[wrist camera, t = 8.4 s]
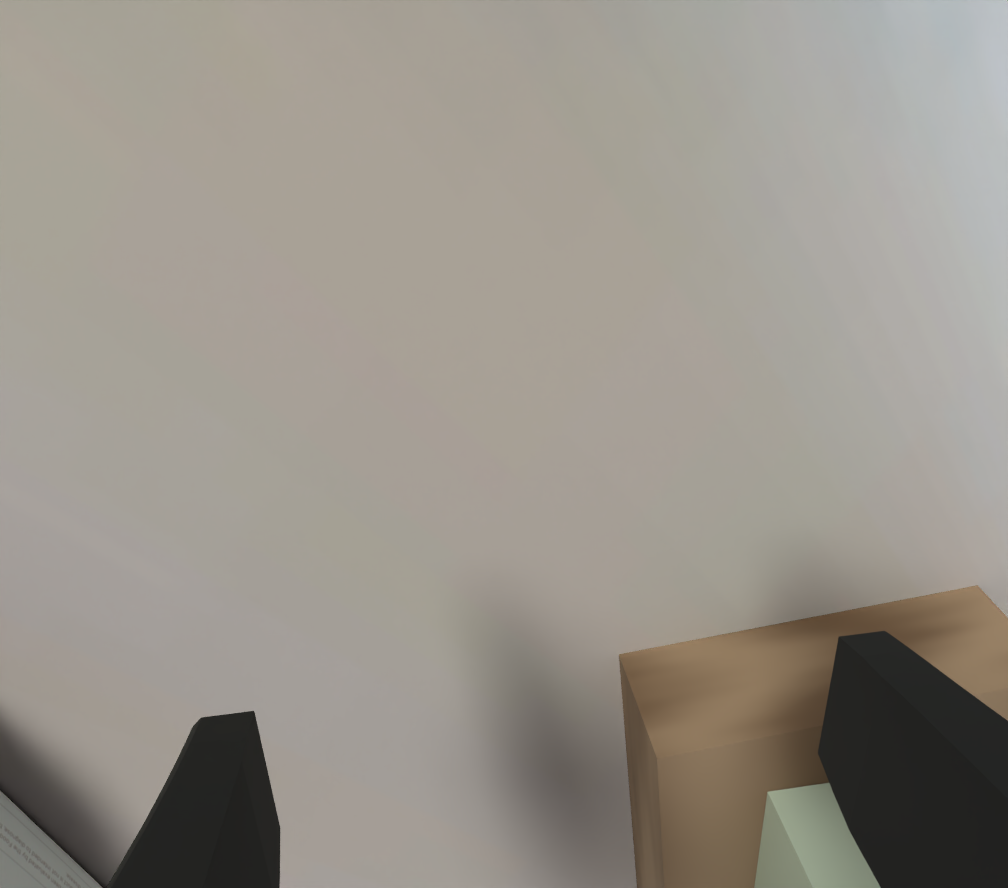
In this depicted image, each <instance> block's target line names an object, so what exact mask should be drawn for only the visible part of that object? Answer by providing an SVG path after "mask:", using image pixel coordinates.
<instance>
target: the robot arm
mask: <svg viewBox="0 0 1008 888" xmlns="http://www.w3.org/2000/svg"><path fill="white" fill-rule="evenodd" d="M818 755H819V758H820V760H821V763H822V765H823V768H824V770H825V773H826V775H827V778H828V781H829V783H830V786H831V788H832V791H833V793H834V796H835V798H836V800H837V803H838V805H839V808H840V810H841V812H842V815H843V817H844V819H845V822H846V824H847V826H848V829H849V831H850V833H851V835H852V836H853V838H854V840H855V842H856V844H857V846H858V848H859V849H860V851H861V853H862V855H863V857H864V858H865V860H866V862H867V864H868V866H869V867H870V869H871V871H872V873H873V875H874V877H875V878H876V880H877V882H878V884H879V886H880V887H881V888H1008V721H1007V720H1006V719H1005V718H1003V717H1002V716H1001V715H999V714H998V713H996V712H995V711H994V710H992V709H991V708H990V707H988V706H987V705H985V704H984V703H983V702H981V701H980V700H979V699H977V698H976V697H975V696H973V695H972V694H971V693H969V692H968V691H967V690H965V689H964V688H963V687H961V686H960V685H958V684H957V683H956V682H954V681H953V680H952V679H950V678H949V677H948V676H946V675H945V674H944V673H942V672H941V671H940V670H938V669H937V668H936V667H934V666H933V665H932V664H930V663H929V662H928V661H926V660H925V659H924V658H922V657H921V656H920V655H918V654H917V653H915V652H914V651H913V650H911V649H910V648H909V647H907V646H906V645H904V644H903V643H902V642H900V641H899V640H898V639H896V638H895V637H893V636H892V635H890V634H889V633H888V632H886V631H878V632H870V633H863V634H855V635H847V636H839V638H838V643H837V649H836V654H835V660H834V665H833V671H832V676H831V682H830V688H829V693H828V699H827V704H826V710H825V715H824V721H823V726H822V732H821V737H820V743H819V748H818ZM279 882H280V825H279V821H278V816H277V812H276V807H275V803H274V798H273V794H272V789H271V785H270V780H269V776H268V771H267V767H266V762H265V758H264V753H263V749H262V744H261V740H260V735H259V731H258V726H257V722H256V717H255V713H254V711H250V712H242V713H234V714H226V715H218V716H210V717H203V718H200V720H199V721H198V722H197V723H196V724H195V725H194V726H193V728H192V730H191V732H190V734H189V736H188V738H187V740H186V743H185V745H184V747H183V749H182V751H181V753H180V755H179V757H178V759H177V761H176V763H175V765H174V767H173V769H172V771H171V773H170V775H169V777H168V779H167V781H166V783H165V785H164V787H163V789H162V791H161V793H160V794H159V796H158V798H157V800H156V802H155V804H154V806H153V807H152V809H151V811H150V813H149V815H148V817H147V819H146V820H145V822H144V824H143V826H142V828H141V829H140V831H139V833H138V834H137V836H136V838H135V840H134V841H133V843H132V845H131V847H130V848H129V850H128V852H127V853H126V855H125V857H124V859H123V860H122V862H121V864H120V866H119V867H118V869H117V871H116V872H115V874H114V876H113V878H112V879H111V881H110V883H109V884H108V886H107V888H279Z"/></svg>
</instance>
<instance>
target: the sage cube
mask: <svg viewBox="0 0 1008 888" xmlns="http://www.w3.org/2000/svg"><path fill="white" fill-rule="evenodd" d="M754 888H881V887H880V886H879V884H878V882H877V880H876V878H875V877H874V875H873V873H872V871H871V869H870V867H869V866H868V864H867V862H866V860H865V858H864V857H863V855H862V853H861V851H860V849H859V848H858V846H857V844H856V842H855V840H854V838H853V836H852V835H851V833H850V831H849V829H848V826H847V824H846V822H845V819H844V817H843V815H842V812H841V810H840V808H839V805H838V803H837V800H836V798H835V796H834V793H833V791H832V788H831V786H830V783H824V784H817V785H810V786H803V787H796V788H790V789H783V790H776V791H769V792H767V799H766V806H765V813H764V821H763V828H762V835H761V842H760V849H759V857H758V864H757V871H756V878H755V886H754Z"/></svg>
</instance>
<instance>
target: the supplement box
mask: <svg viewBox="0 0 1008 888" xmlns="http://www.w3.org/2000/svg"><path fill="white" fill-rule="evenodd" d="M0 888H102V887H101V886H100V885H99V884H98V883H97V882H96V881H95V880H94V879H93V878H92V877H91V876H90V875H89V874H88V873H87V872H86V871H85V870H83V869H82V868H81V867H80V866H79V865H78V864H77V863H76V862H75V861H74V860H73V859H72V858H71V857H70V856H69V855H68V854H67V853H65V852H64V851H63V850H62V849H61V848H60V847H59V846H58V845H57V844H56V843H55V842H54V841H53V840H52V839H51V838H49V837H48V836H47V835H46V834H45V833H44V832H43V831H42V830H41V829H40V828H39V827H38V826H37V825H36V824H35V823H34V822H33V821H32V820H30V819H29V818H28V817H27V816H26V815H25V814H24V813H23V812H22V811H21V810H20V809H19V808H18V807H17V806H16V805H15V804H14V803H13V802H12V801H11V800H10V799H9V798H8V797H7V796H5V795H4V794H3V793H2V792H1V791H0Z"/></svg>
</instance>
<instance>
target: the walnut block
mask: <svg viewBox="0 0 1008 888" xmlns="http://www.w3.org/2000/svg"><path fill="white" fill-rule="evenodd" d="M878 631H886V632H888V633H889V634H890V635H892V636H893V637H895V638H896V639H898V640H899V641H900V642H902V643H903V644H904V645H906V646H907V647H909V648H910V649H911V650H913V651H914V652H915V653H917V654H918V655H920V656H921V657H922V658H924V659H925V660H926V661H928V662H929V663H930V664H932V665H933V666H934V667H936V668H937V669H938V670H940V671H941V672H942V673H944V674H945V675H946V676H948V677H949V678H950V679H952V680H953V681H954V682H956V683H957V684H958V685H960V686H961V687H963V688H964V689H965V690H967V691H968V692H969V693H971V694H972V695H973V696H975V697H976V698H977V699H979V700H980V701H981V702H983V703H984V704H985V705H987V706H988V707H990V708H991V709H992V710H994V711H995V712H996V713H998V714H999V715H1001V716H1002V717H1003V718H1005V719H1006V720H1007V721H1008V618H1007V617H1006V616H1005V615H1004V614H1003V612H1002V611H1001V610H1000V609H999V608H998V607H997V606H996V605H995V604H994V603H993V602H992V601H991V599H990V598H989V597H988V596H987V595H986V594H985V593H984V592H983V591H982V590H981V589H980V588H979V587H978V585H977V586H972V587H967V588H962V589H957V590H951V591H946V592H941V593H936V594H931V595H926V596H920V597H915V598H910V599H905V600H900V601H894V602H889V603H884V604H879V605H874V606H868V607H863V608H858V609H853V610H848V611H842V612H837V613H832V614H827V615H822V616H816V617H811V618H806V619H801V620H796V621H790V622H785V623H780V624H775V625H770V626H765V627H759V628H754V629H749V630H744V631H739V632H733V633H728V634H723V635H718V636H713V637H707V638H702V639H697V640H692V641H687V642H681V643H676V644H671V645H666V646H661V647H655V648H650V649H645V650H640V651H635V652H629V653H624V654H619V660H620V673H621V686H622V699H623V712H624V725H625V738H626V751H627V763H628V776H629V789H630V802H631V815H632V828H633V841H634V854H635V866H636V879H637V888H754V886H755V878H756V871H757V864H758V857H759V849H760V842H761V835H762V828H763V821H764V813H765V806H766V799H767V792H769V791H776V790H783V789H790V788H796V787H803V786H810V785H817V784H824V783H829V781H828V778H827V775H826V773H825V770H824V768H823V765H822V763H821V760H820V758H819V755H818V748H819V743H820V737H821V732H822V726H823V721H824V715H825V710H826V704H827V699H828V693H829V688H830V682H831V676H832V671H833V665H834V660H835V654H836V649H837V643H838V638H839V636H847V635H855V634H863V633H870V632H878Z"/></svg>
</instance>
